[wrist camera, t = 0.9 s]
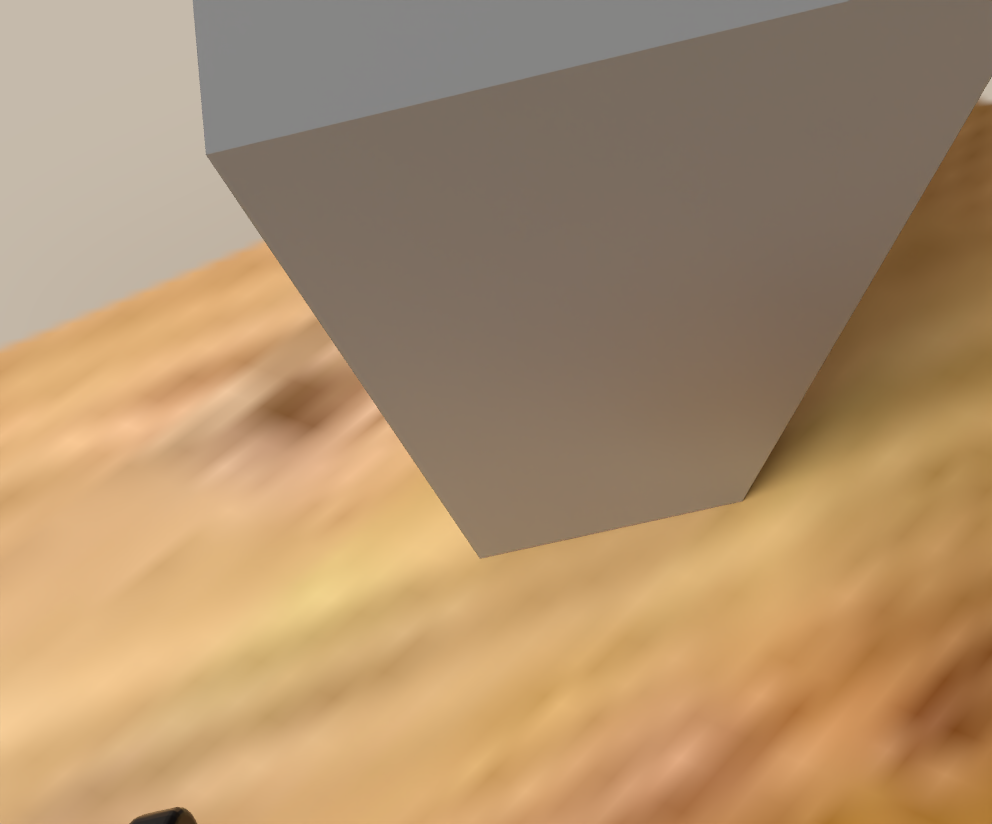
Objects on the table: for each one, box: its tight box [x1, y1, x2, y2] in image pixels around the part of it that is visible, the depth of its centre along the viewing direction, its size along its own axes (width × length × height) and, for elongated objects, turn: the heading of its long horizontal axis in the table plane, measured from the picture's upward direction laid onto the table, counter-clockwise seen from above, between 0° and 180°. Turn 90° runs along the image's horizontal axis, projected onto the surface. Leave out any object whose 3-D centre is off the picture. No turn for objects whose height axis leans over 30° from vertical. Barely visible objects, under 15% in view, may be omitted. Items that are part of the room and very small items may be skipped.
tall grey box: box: [193, 0, 992, 558], centre depth 15 cm, size 7×7×16 cm
